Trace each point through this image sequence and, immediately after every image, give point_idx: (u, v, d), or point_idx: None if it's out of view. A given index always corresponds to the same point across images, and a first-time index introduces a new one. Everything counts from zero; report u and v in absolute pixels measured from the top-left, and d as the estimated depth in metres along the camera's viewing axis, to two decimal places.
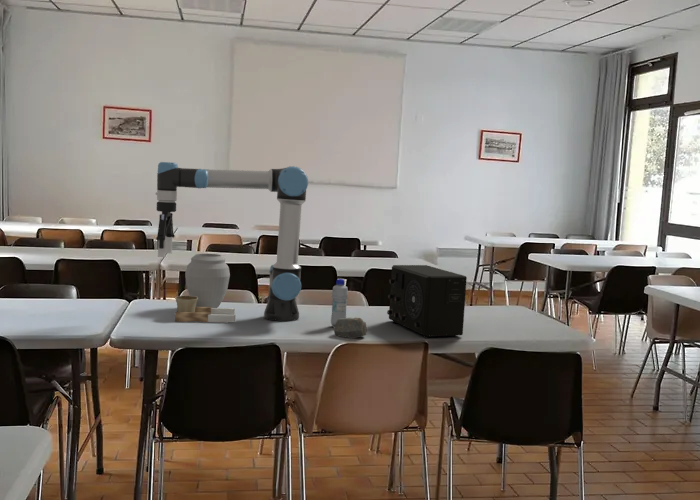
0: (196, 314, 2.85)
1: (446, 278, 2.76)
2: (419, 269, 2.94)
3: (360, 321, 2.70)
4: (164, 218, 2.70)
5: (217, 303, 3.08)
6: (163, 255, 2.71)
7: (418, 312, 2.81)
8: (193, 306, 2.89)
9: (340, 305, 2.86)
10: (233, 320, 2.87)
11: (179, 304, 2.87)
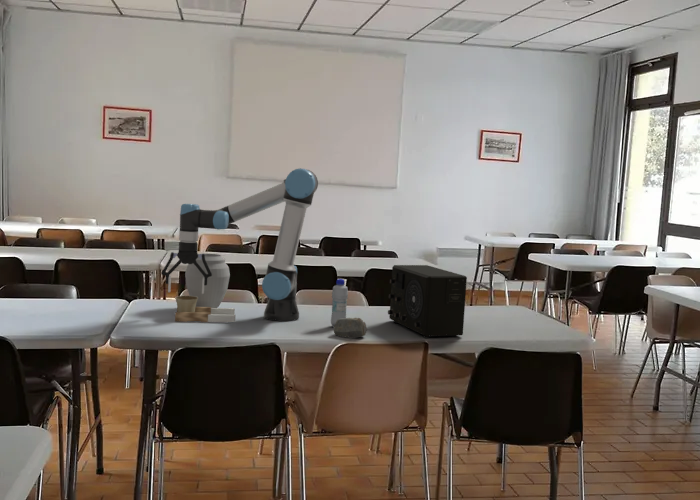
0: (196, 314, 2.85)
1: (446, 278, 2.76)
2: (419, 269, 2.95)
3: (360, 321, 2.70)
4: (170, 256, 2.87)
5: (217, 303, 3.08)
6: (168, 290, 2.88)
7: (418, 312, 2.81)
8: (193, 306, 2.89)
9: (340, 305, 2.86)
10: (233, 320, 2.87)
11: (179, 304, 2.87)
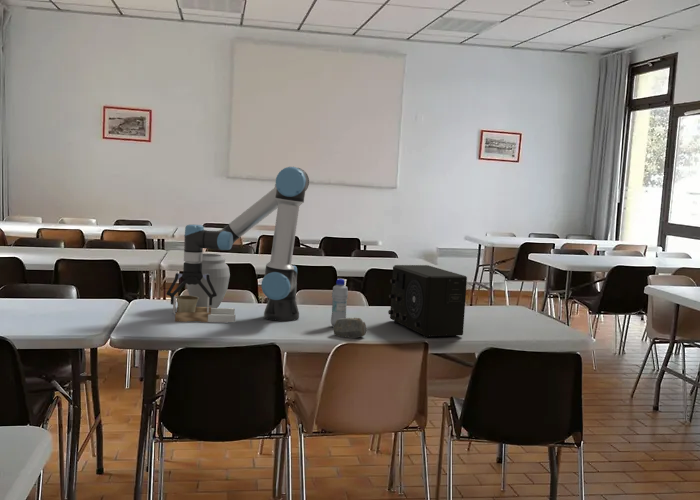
0: (196, 314, 2.85)
1: (446, 278, 2.76)
2: (420, 269, 2.95)
3: (359, 321, 2.70)
4: (175, 276, 2.88)
5: (217, 303, 3.08)
6: (173, 311, 2.89)
7: (418, 312, 2.81)
8: (193, 306, 2.89)
9: (340, 305, 2.86)
10: (233, 320, 2.87)
11: (180, 303, 2.87)
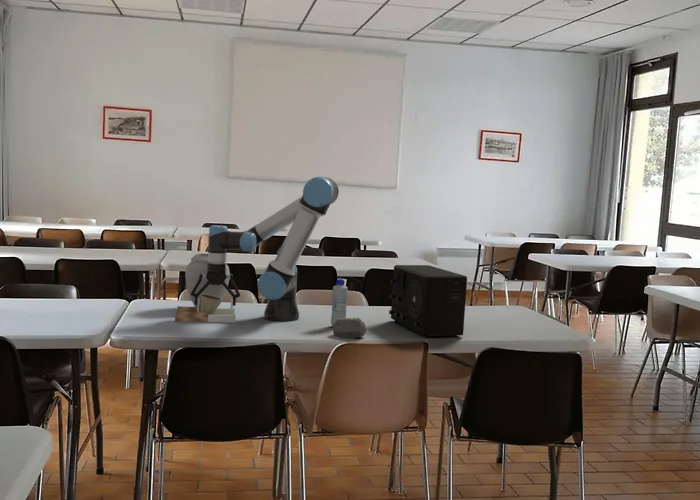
0: (196, 314, 2.85)
1: (446, 278, 2.76)
2: (420, 269, 2.95)
3: (359, 321, 2.70)
4: (199, 277, 2.89)
5: None
6: (197, 311, 2.91)
7: (418, 312, 2.81)
8: (215, 306, 2.91)
9: (340, 305, 2.86)
10: (233, 320, 2.87)
11: (203, 302, 2.89)
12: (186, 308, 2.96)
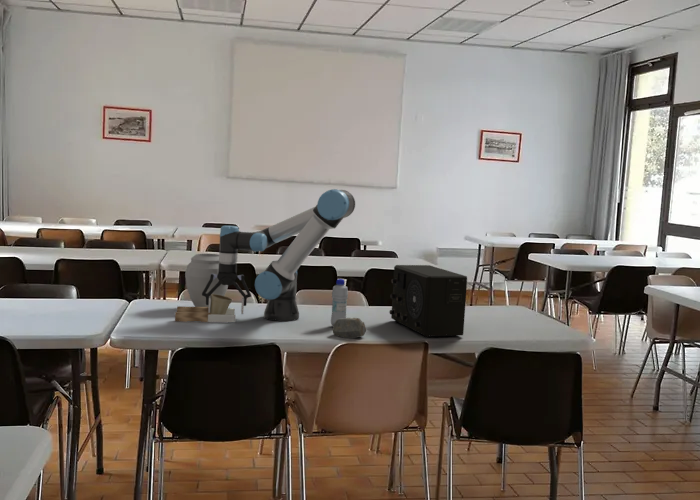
0: (196, 314, 2.85)
1: (446, 278, 2.76)
2: (421, 269, 2.95)
3: (358, 321, 2.70)
4: (210, 277, 2.90)
5: None
6: (208, 311, 2.92)
7: (418, 312, 2.81)
8: (227, 306, 2.92)
9: (340, 305, 2.86)
10: (233, 320, 2.87)
11: (214, 302, 2.90)
12: (186, 308, 2.96)
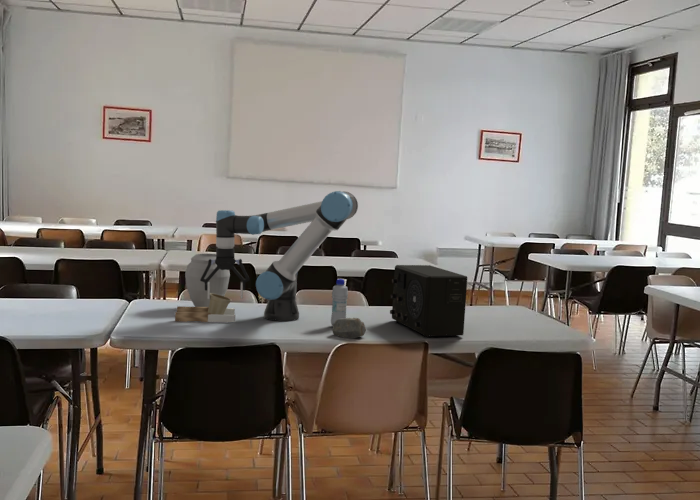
0: (196, 314, 2.85)
1: (446, 278, 2.76)
2: (421, 269, 2.95)
3: (358, 321, 2.70)
4: (208, 262, 2.89)
5: None
6: None
7: (419, 312, 2.81)
8: (225, 306, 2.92)
9: (340, 305, 2.86)
10: (233, 320, 2.87)
11: (213, 301, 2.90)
12: (186, 308, 2.96)
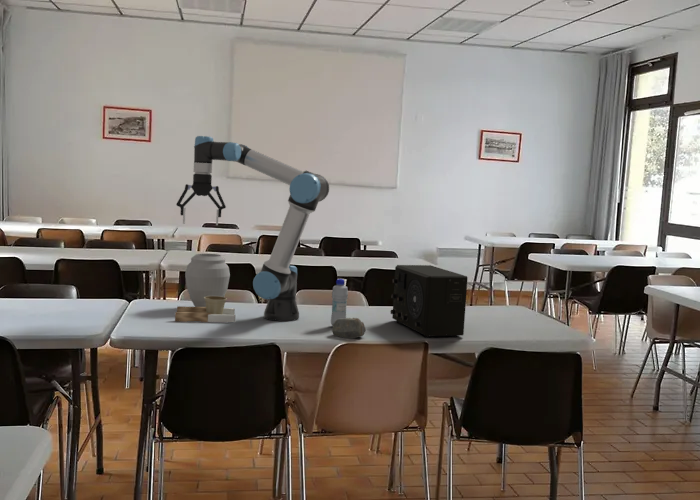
0: (196, 314, 2.85)
1: (446, 278, 2.76)
2: (421, 269, 2.95)
3: (358, 321, 2.69)
4: None
5: None
6: (183, 222, 2.92)
7: (419, 312, 2.81)
8: (222, 306, 2.92)
9: (340, 305, 2.86)
10: (233, 320, 2.87)
11: (209, 304, 2.90)
12: (186, 308, 2.96)
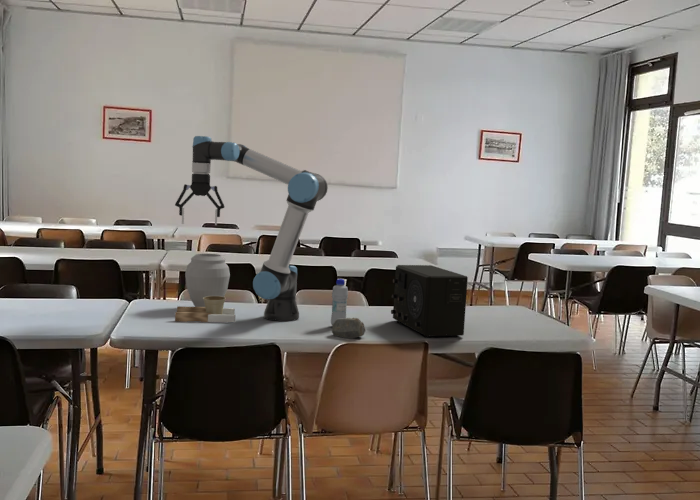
0: (196, 314, 2.85)
1: (446, 278, 2.76)
2: (422, 269, 2.95)
3: (357, 321, 2.69)
4: None
5: None
6: None
7: (419, 312, 2.81)
8: (221, 306, 2.91)
9: (340, 305, 2.86)
10: (233, 320, 2.87)
11: (208, 304, 2.90)
12: (186, 308, 2.96)
